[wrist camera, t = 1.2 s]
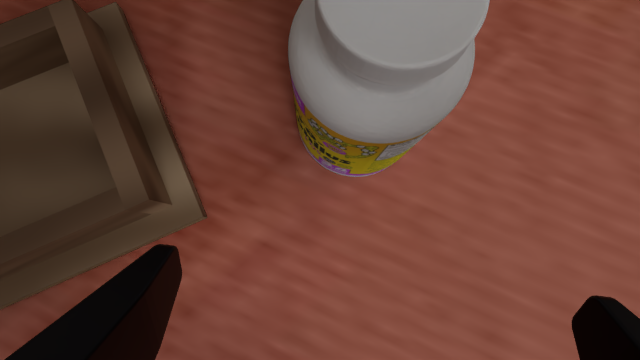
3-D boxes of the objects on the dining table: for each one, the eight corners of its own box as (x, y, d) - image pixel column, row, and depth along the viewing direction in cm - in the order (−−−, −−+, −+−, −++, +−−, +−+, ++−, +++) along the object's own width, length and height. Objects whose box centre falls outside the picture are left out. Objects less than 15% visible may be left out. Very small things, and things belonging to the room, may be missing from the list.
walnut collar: (207, 217, 22) (185, 213, 18) (-34, 324, 21) (-111, 343, 17) (122, 9, 24) (86, -34, 20) (-103, 98, 23) (-186, 70, 19)
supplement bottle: (277, 103, 23) (231, -64, 10) (373, 52, 24) (440, -167, 11) (334, 200, 22) (359, 150, 9) (431, 145, 23) (579, 27, 10)
